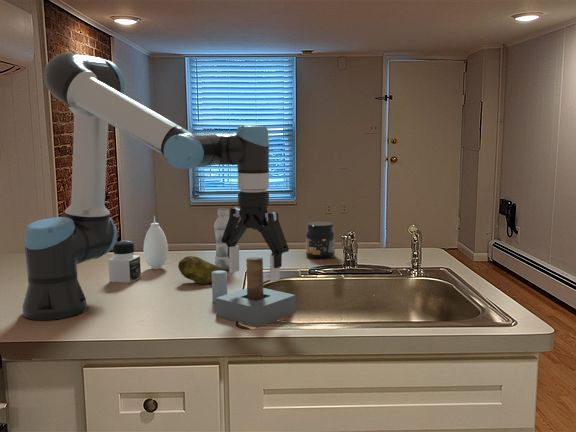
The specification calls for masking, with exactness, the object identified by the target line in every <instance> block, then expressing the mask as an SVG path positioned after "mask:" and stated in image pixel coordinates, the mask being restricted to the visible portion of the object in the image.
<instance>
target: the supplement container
mask: <svg viewBox="0 0 576 432" xmlns="http://www.w3.org/2000/svg"><path fill="white" fill-rule="evenodd" d="M334 229H335V227H334V222H330V221H329V222H328V221H312V222H308V223H306V230H307V231H306V232H305V255H306V257H308V258H309V259H312V260H313V259H314V260H329V259H332V258H333V257H335V255H336V251H335V249H336V246H335V245H336V243H335V242H336V239H335V238H336V237H335V236H336V233H335V231H334Z"/></svg>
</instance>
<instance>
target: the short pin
mask: <svg viewBox="0 0 576 432" xmlns="http://www.w3.org/2000/svg"><path fill="white" fill-rule="evenodd" d="M211 288H212V289H211V295H212V303H213V304H216V299H215V298H217V297H220V296H223V295H226V294H228V273H227V270H223V271H213V272H212V283H211Z"/></svg>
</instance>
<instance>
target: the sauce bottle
mask: <svg viewBox="0 0 576 432" xmlns="http://www.w3.org/2000/svg"><path fill="white" fill-rule="evenodd" d="M168 244H169V243H168V241H167V237H166V235H165V233H164V231H163V229H162V228H161V227H160V223H159V222H156V216H155V215H153V222H152V223H150V227H149V228H148V229H147V232H146V234H145V236H144V241H143V249H142V250H143V257H144V261H145V263H146V264H147V266H149V267H150V268H151V269H154V270H156V271H157V270H160V269H162V268H163V266H165V265H166V263H167V260H168V258H169V245H168Z"/></svg>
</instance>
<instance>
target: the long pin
mask: <svg viewBox="0 0 576 432" xmlns="http://www.w3.org/2000/svg"><path fill="white" fill-rule="evenodd" d="M263 261H264V258H263V257H259V256H252V257H247V258H246V261H245V262H246V288H247V299H250V300H255V301H257V300H260V299H263V288H264V262H263Z"/></svg>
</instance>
